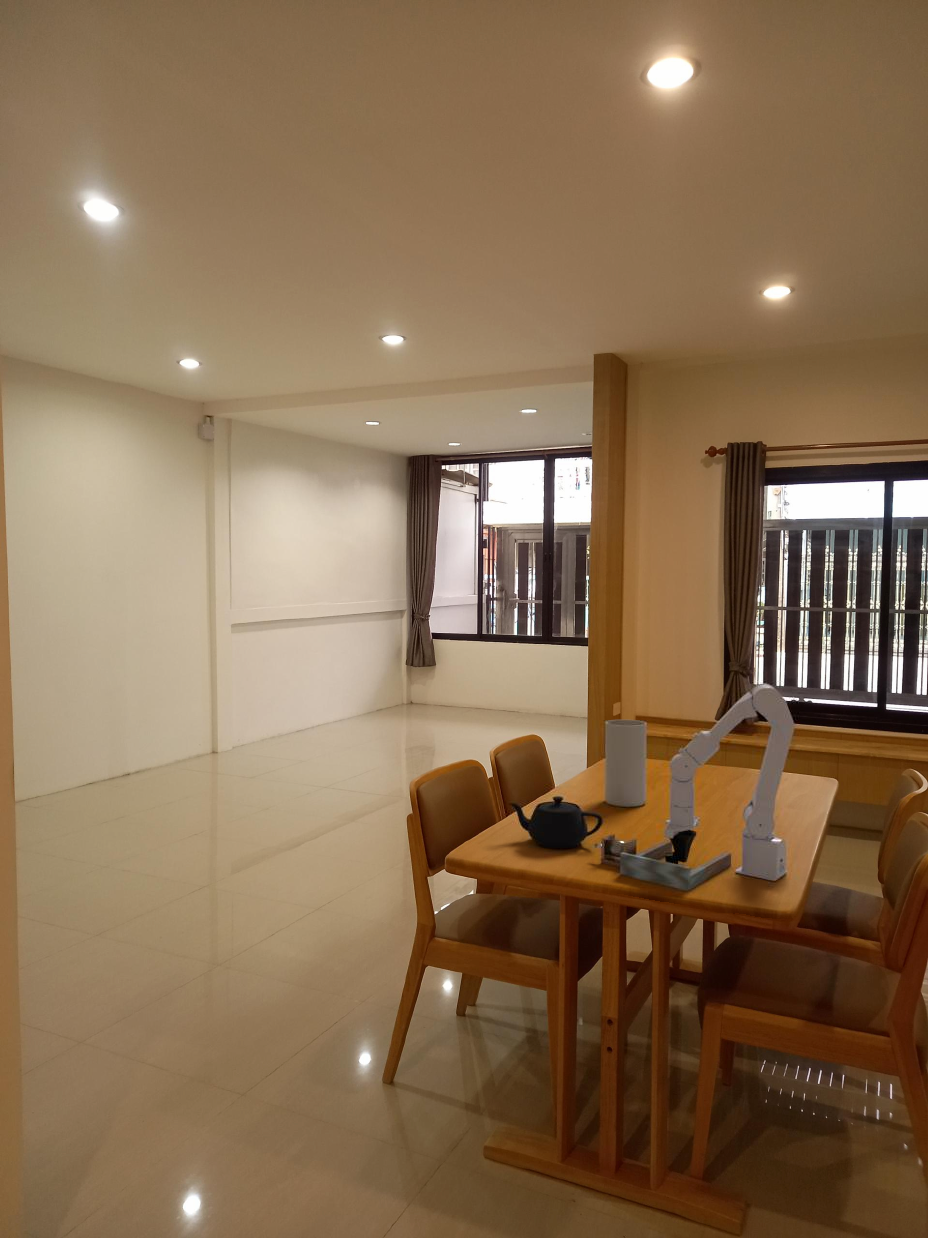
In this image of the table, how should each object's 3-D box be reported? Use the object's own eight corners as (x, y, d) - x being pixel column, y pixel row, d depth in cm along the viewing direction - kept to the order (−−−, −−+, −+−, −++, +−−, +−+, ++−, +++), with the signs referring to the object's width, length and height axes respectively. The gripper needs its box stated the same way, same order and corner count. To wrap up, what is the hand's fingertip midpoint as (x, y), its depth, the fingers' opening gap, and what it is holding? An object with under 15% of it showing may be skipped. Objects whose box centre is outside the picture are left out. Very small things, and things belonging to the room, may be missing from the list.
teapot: (606, 838, 231) (606, 793, 231) (598, 856, 216) (598, 807, 216) (515, 831, 238) (515, 787, 238) (501, 847, 224) (501, 800, 223)
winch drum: (636, 863, 210) (636, 839, 210) (626, 868, 206) (626, 844, 206) (603, 856, 216) (603, 832, 216) (592, 861, 212) (592, 836, 212)
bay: (731, 865, 209) (731, 844, 209) (688, 891, 191) (688, 868, 191) (666, 851, 220) (666, 832, 220) (620, 874, 202) (620, 853, 202)
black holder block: (655, 864, 212) (655, 845, 212) (686, 865, 211) (686, 846, 210) (657, 880, 200) (657, 860, 200) (689, 882, 198) (689, 862, 198)
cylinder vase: (638, 809, 261) (638, 727, 260) (599, 804, 267) (599, 724, 266) (651, 800, 272) (651, 721, 271) (613, 796, 278) (613, 718, 277)
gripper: (680, 796, 215) (680, 850, 216) (652, 808, 204) (652, 865, 205) (707, 801, 211) (706, 856, 211) (680, 813, 200) (679, 871, 200)
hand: (681, 861), depth 208 cm, fingers closed
